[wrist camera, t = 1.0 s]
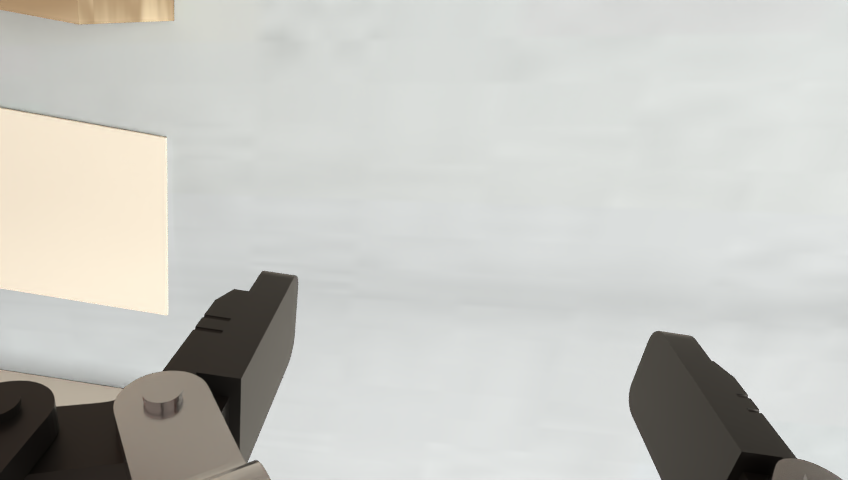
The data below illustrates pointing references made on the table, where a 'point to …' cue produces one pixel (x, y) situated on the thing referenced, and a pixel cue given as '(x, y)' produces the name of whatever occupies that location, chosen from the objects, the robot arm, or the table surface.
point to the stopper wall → (67, 389)
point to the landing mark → (83, 212)
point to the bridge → (94, 10)
